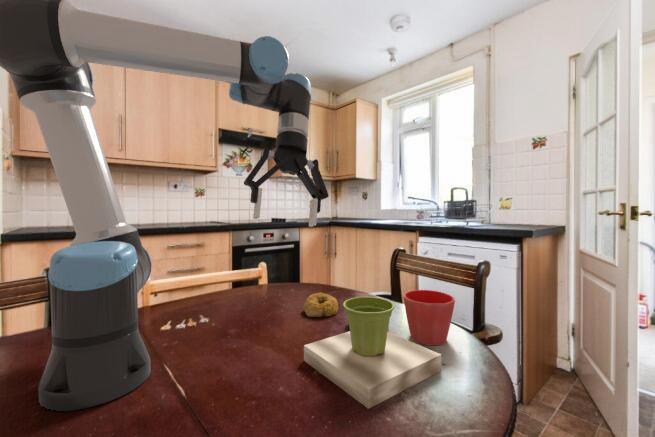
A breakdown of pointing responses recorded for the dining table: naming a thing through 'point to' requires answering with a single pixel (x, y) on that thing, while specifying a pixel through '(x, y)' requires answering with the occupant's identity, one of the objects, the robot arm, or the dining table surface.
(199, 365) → the dining table surface
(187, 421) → the dining table surface
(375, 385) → the plinth
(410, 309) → the flower pot
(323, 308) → the bagel
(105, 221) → the robot arm
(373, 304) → the plant pot
